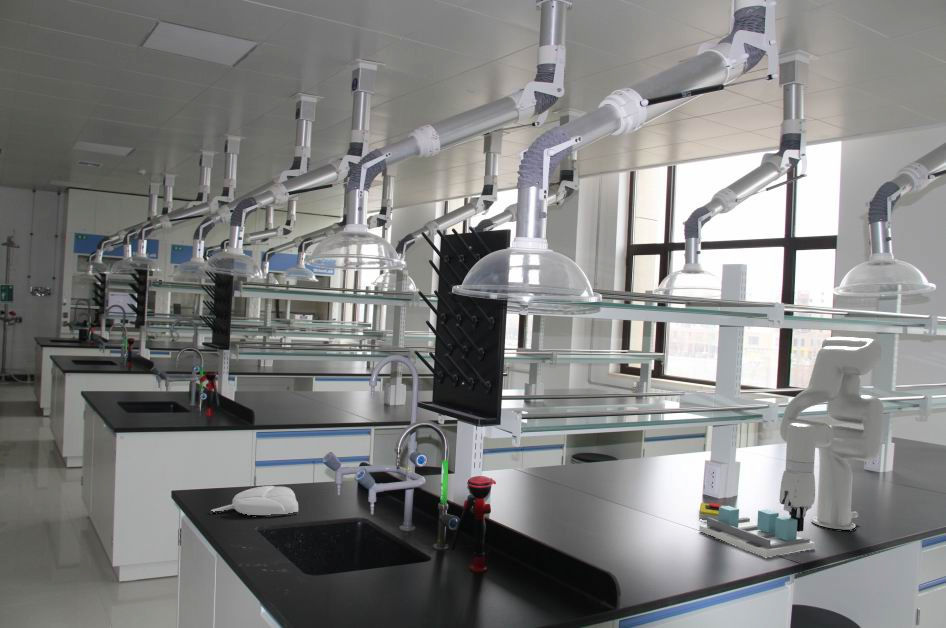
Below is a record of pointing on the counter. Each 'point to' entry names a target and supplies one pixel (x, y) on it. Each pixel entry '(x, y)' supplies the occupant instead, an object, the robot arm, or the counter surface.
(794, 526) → the teal rectangular block
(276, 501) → the white computer mouse
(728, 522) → the teal rectangular block
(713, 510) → the emergency button
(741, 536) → the white ridged tray
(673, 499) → the counter surface
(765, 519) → the light teal block
